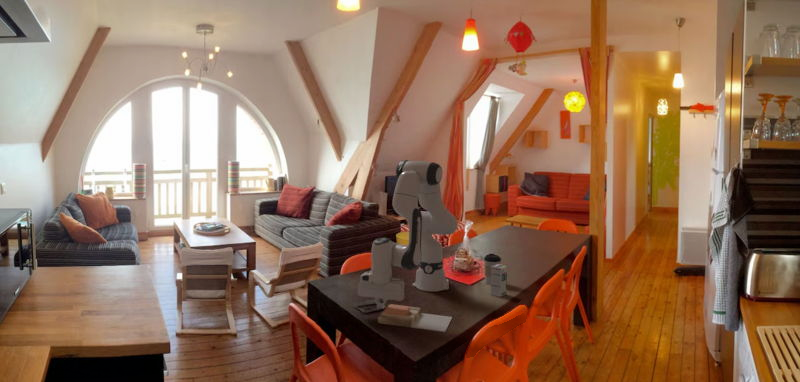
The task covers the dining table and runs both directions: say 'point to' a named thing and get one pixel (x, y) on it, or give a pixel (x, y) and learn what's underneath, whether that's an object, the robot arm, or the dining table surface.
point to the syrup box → (498, 280)
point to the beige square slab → (400, 318)
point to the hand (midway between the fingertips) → (380, 307)
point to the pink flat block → (397, 309)
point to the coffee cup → (488, 263)
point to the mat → (432, 322)
